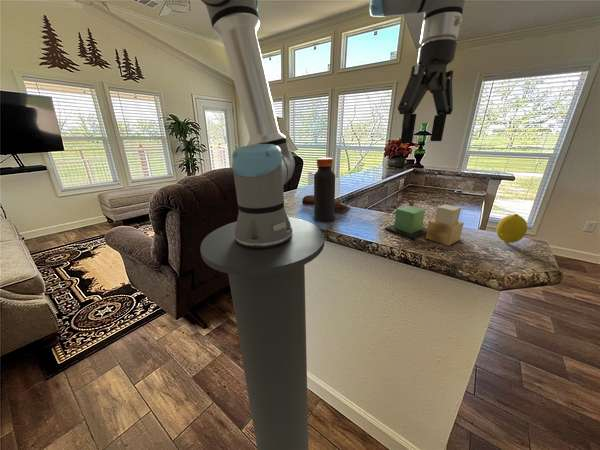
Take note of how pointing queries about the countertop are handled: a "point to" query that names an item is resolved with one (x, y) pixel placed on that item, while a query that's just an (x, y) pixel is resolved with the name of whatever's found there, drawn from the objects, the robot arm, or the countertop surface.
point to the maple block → (444, 232)
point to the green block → (409, 219)
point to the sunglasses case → (337, 204)
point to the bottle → (324, 190)
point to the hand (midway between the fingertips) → (421, 142)
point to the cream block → (447, 214)
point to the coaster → (403, 233)
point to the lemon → (511, 228)
